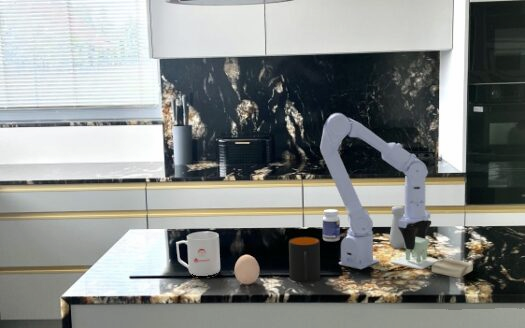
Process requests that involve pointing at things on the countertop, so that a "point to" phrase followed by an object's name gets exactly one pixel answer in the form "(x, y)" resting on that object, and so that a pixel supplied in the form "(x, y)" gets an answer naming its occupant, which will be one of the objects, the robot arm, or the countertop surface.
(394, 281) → the countertop surface
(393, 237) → the salt shaker
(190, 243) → the mug
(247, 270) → the egg
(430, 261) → the pad
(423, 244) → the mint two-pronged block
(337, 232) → the pill bottle
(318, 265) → the mug
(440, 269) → the step
